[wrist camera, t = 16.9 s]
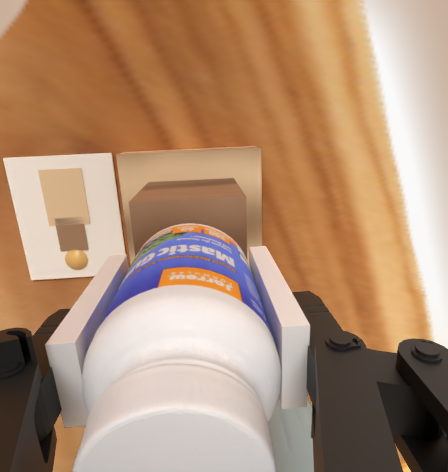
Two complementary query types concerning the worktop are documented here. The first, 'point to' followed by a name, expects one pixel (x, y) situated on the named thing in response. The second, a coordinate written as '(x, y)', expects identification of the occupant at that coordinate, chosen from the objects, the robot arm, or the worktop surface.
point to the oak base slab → (195, 178)
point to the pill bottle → (182, 363)
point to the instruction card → (66, 213)
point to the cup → (292, 438)
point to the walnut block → (189, 208)
